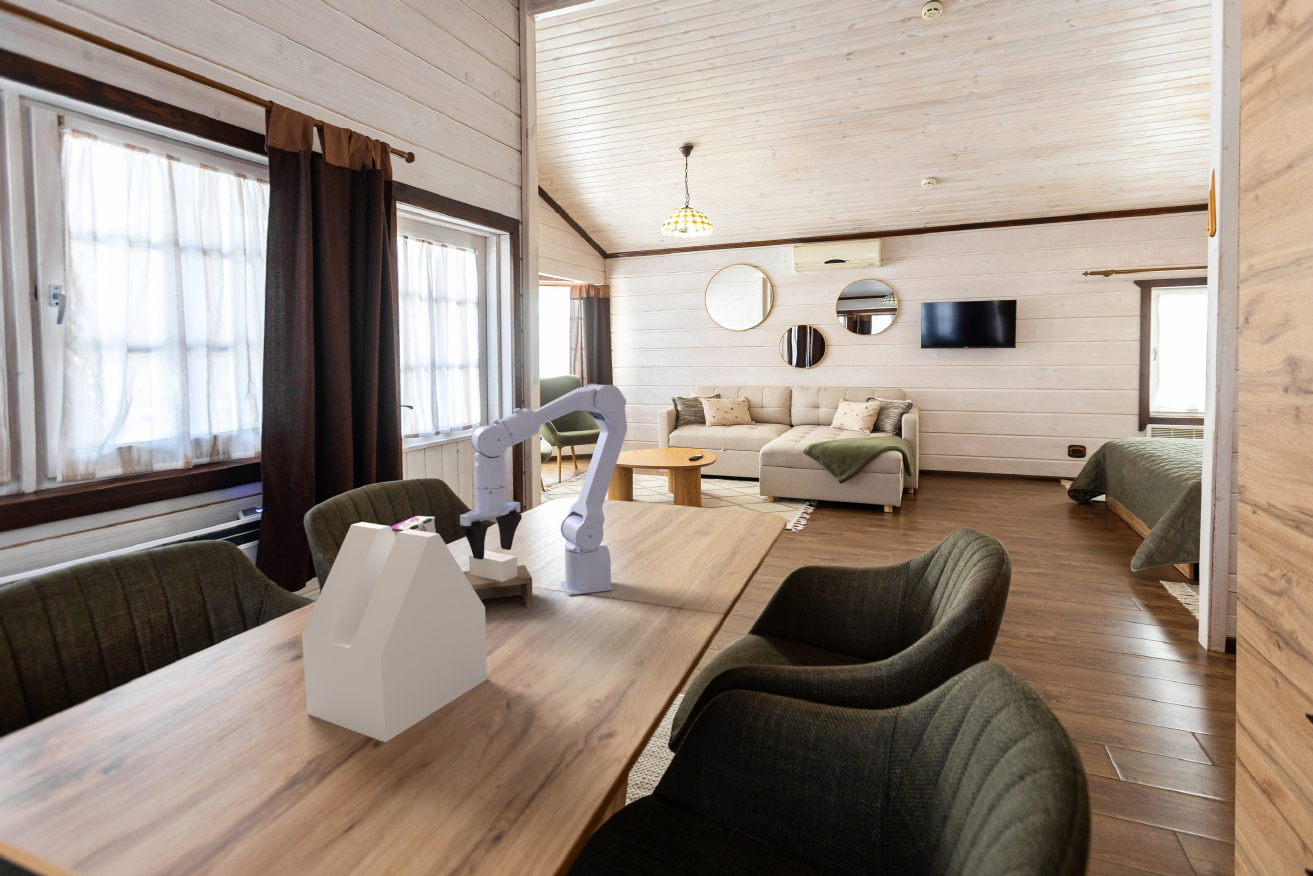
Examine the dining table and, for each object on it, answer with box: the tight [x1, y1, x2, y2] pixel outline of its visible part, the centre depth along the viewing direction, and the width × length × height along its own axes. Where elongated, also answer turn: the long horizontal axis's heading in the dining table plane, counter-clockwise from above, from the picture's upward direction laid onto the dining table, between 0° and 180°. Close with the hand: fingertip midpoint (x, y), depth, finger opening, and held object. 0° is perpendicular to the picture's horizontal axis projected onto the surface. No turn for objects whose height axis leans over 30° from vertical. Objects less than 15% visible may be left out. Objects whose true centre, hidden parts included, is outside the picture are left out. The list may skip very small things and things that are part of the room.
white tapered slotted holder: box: [301, 521, 488, 743], centre depth 96 cm, size 19×15×25 cm
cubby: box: [463, 564, 534, 609], centre depth 133 cm, size 14×9×6 cm, turn 110°
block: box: [468, 549, 518, 582], centre depth 133 cm, size 4×9×4 cm, turn 59°
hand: (492, 553), depth 133 cm, fingers open, 7 cm apart
